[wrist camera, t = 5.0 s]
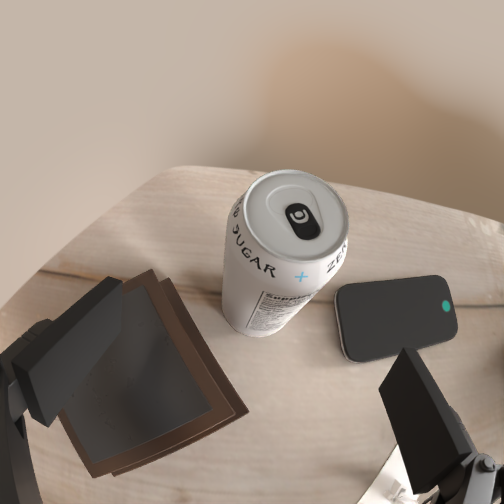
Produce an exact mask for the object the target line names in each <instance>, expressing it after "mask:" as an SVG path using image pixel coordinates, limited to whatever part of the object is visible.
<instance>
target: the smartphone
mask: <svg viewBox="0 0 504 504" xmlns="http://www.w3.org/2000/svg"><path fill="white" fill-rule="evenodd" d="M334 305H335V312H336V317H337V323H338V329H339V335H340V342H341V347H342V351H343V354H344V356H345V357H346V359H347V360H348V361H350V362H353V363H365V362H370V361H374V360H379V359H383V358H387V357H391V356H395V355H399V353H400V352H401V350H402V348H403V347H407V348H414V349H416V350H418V349H422V348H425V347H429V346H432V345H436V344H439V343H442V342H445V341H448V340H451V339H452V338H454V337H455V335H456V334H457V330H458V324H457V318H456V314H455V309H454V305H453V301H452V297H451V293H450V290H449V287H448V284H447V282H446V280H445V279H444V278H442V277H441V276H438V275H430V276H422V277H413V278H404V279H394V280H385V281H374V282H364V283H353V284H347V285H345V286H342V287H341V288H340V289H339V290H338V291H337V292H336V293H335V297H334Z"/></svg>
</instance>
